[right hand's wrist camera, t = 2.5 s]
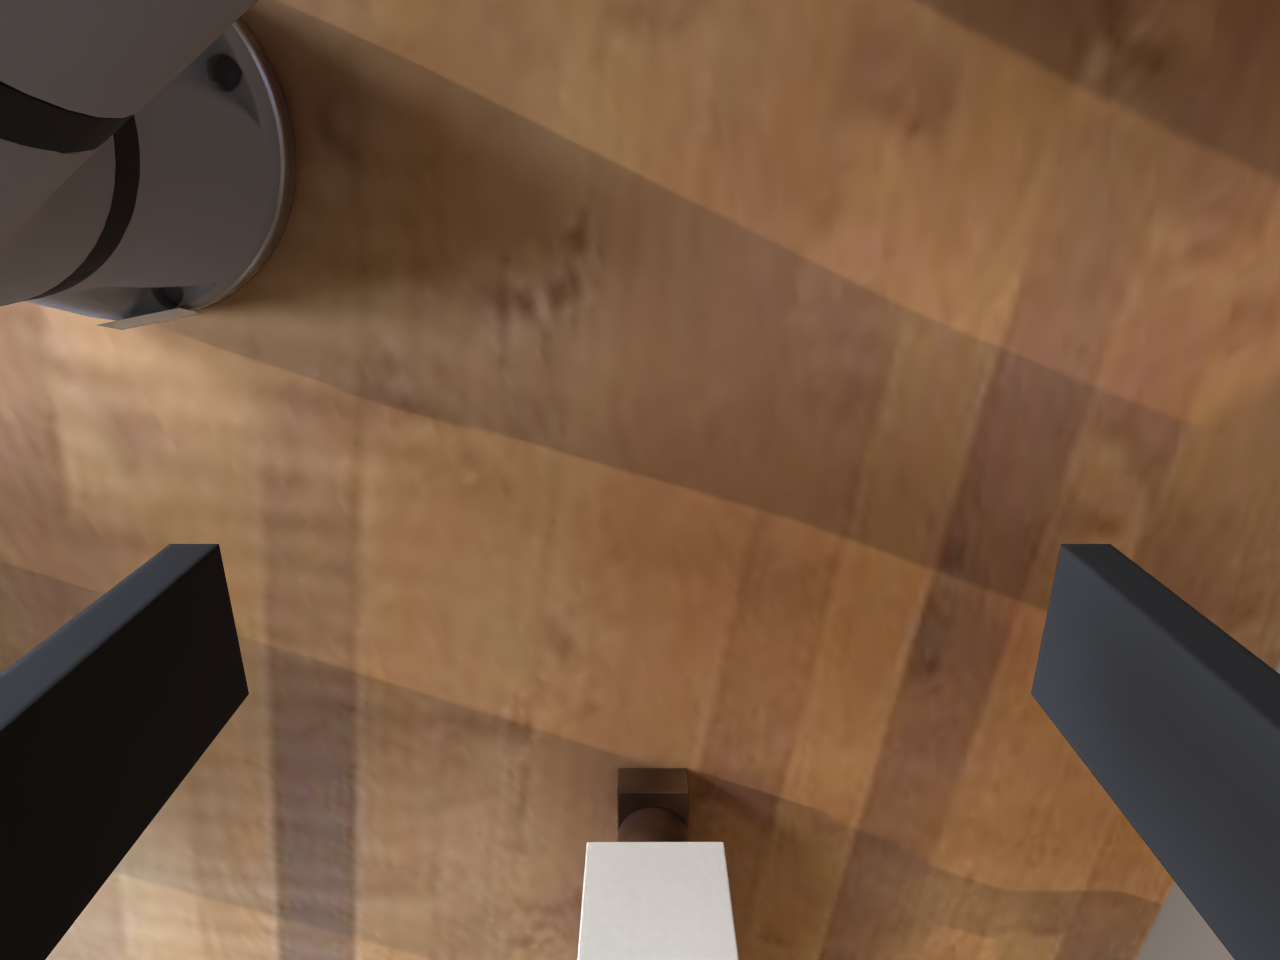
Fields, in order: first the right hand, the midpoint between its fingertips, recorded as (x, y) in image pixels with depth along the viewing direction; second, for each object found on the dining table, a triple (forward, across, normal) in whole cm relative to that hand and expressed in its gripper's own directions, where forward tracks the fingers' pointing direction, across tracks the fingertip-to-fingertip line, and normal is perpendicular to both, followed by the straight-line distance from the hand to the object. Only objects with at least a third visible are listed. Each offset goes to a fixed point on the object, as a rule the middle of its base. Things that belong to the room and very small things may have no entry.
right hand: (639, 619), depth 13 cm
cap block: (+21, +1, -28) cm, 35 cm away
